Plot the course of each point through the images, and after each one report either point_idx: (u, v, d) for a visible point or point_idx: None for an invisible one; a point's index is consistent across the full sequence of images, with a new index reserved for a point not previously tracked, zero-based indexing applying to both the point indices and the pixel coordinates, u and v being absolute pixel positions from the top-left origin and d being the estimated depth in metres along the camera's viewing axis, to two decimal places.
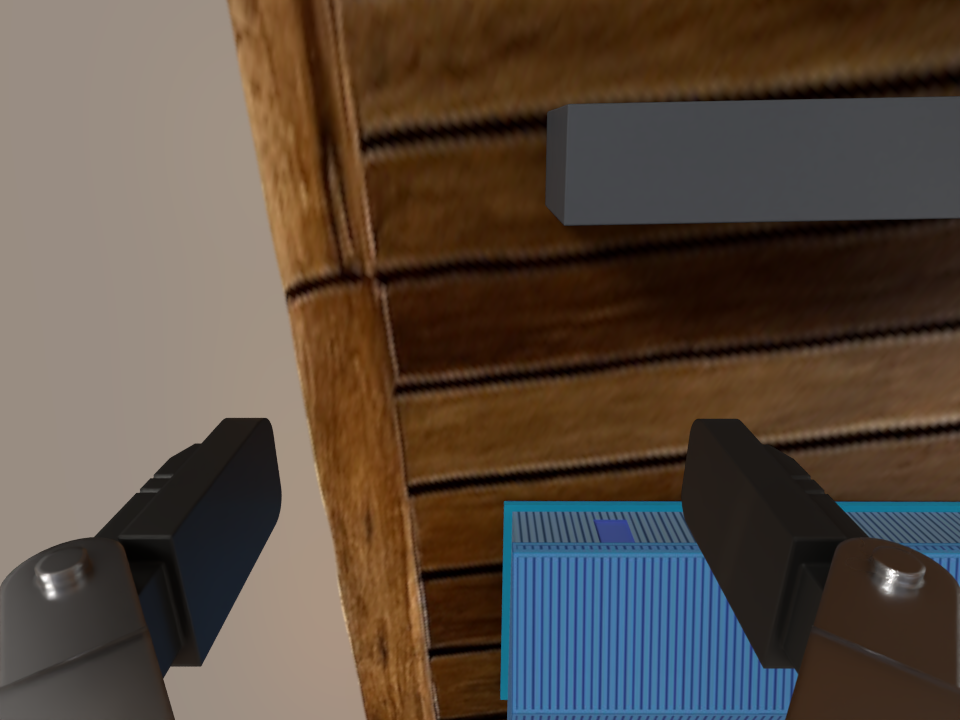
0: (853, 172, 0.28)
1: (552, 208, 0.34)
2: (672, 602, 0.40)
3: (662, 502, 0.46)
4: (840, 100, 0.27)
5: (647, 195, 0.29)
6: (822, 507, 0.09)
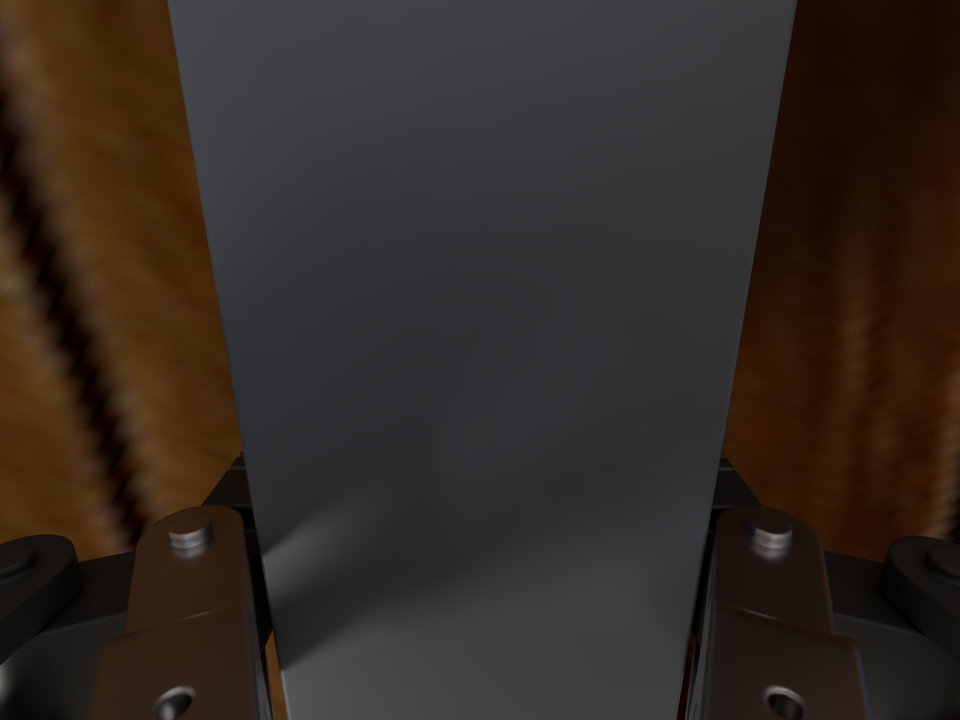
0: None
1: None
2: None
3: None
4: None
5: (593, 577, 0.07)
6: (727, 482, 0.09)
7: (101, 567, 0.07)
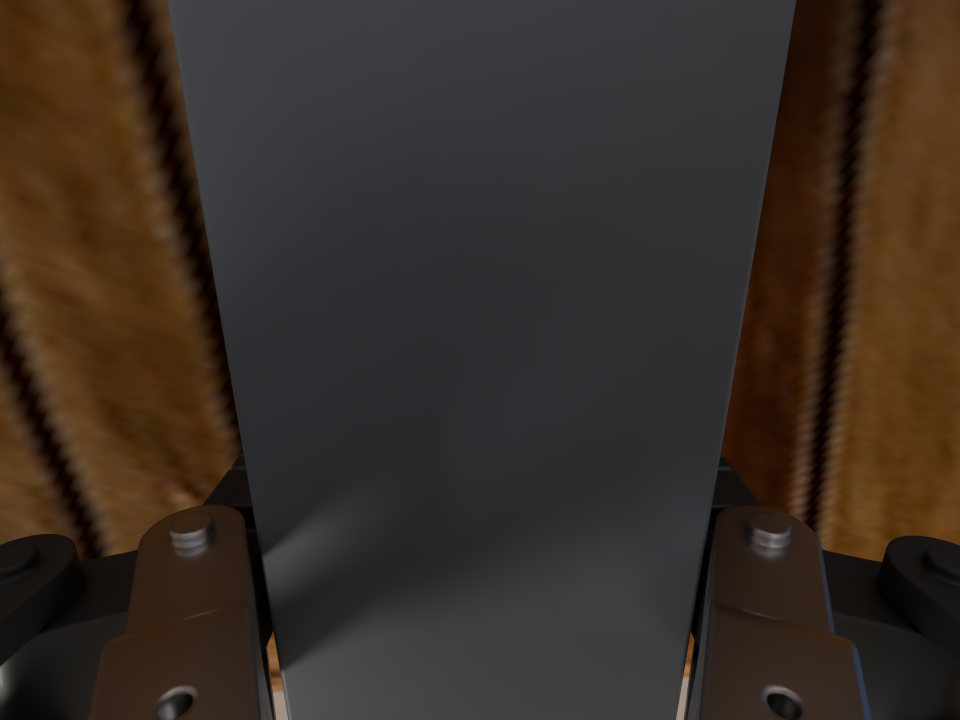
0: None
1: None
2: None
3: None
4: None
5: (593, 575, 0.07)
6: (726, 481, 0.09)
7: (104, 567, 0.07)
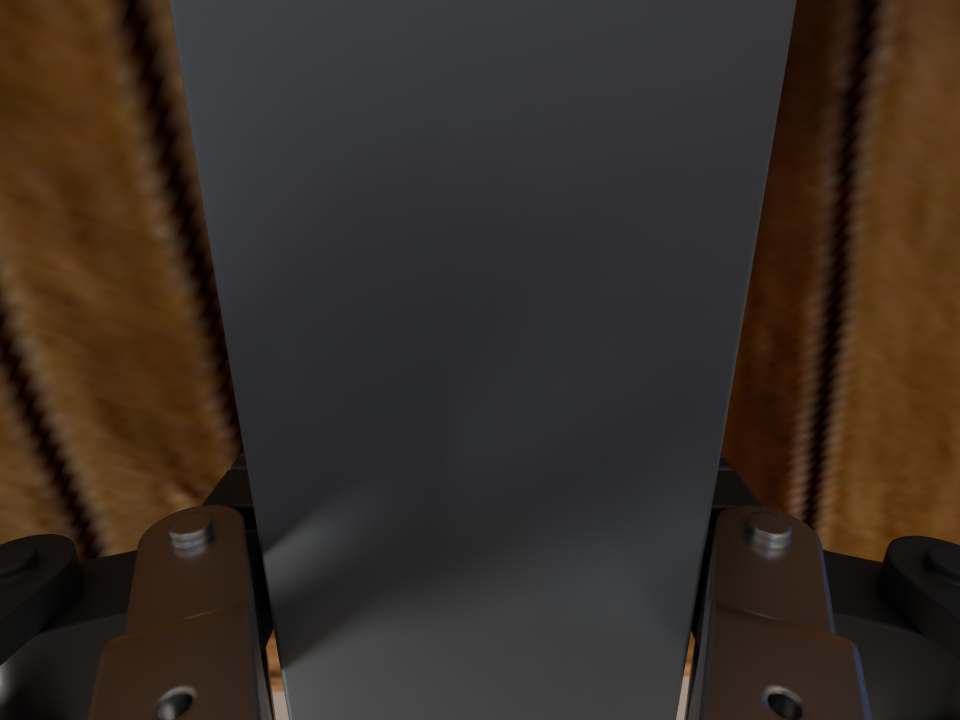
0: None
1: None
2: None
3: None
4: None
5: (594, 575, 0.07)
6: (727, 482, 0.09)
7: (102, 567, 0.07)
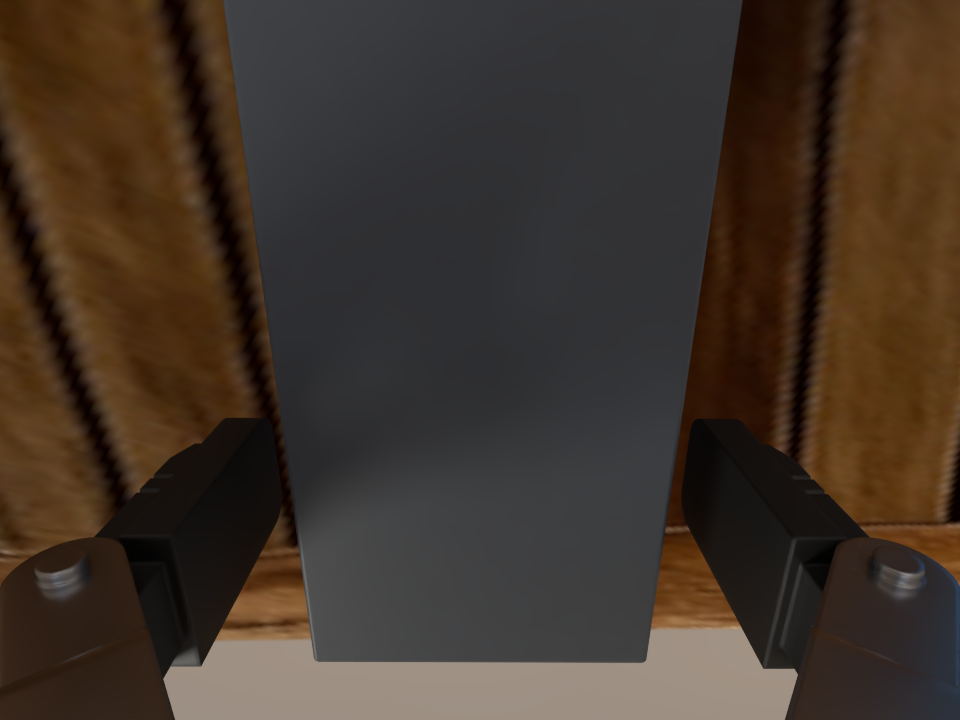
0: None
1: None
2: None
3: None
4: None
5: (580, 454, 0.08)
6: (822, 507, 0.09)
7: None
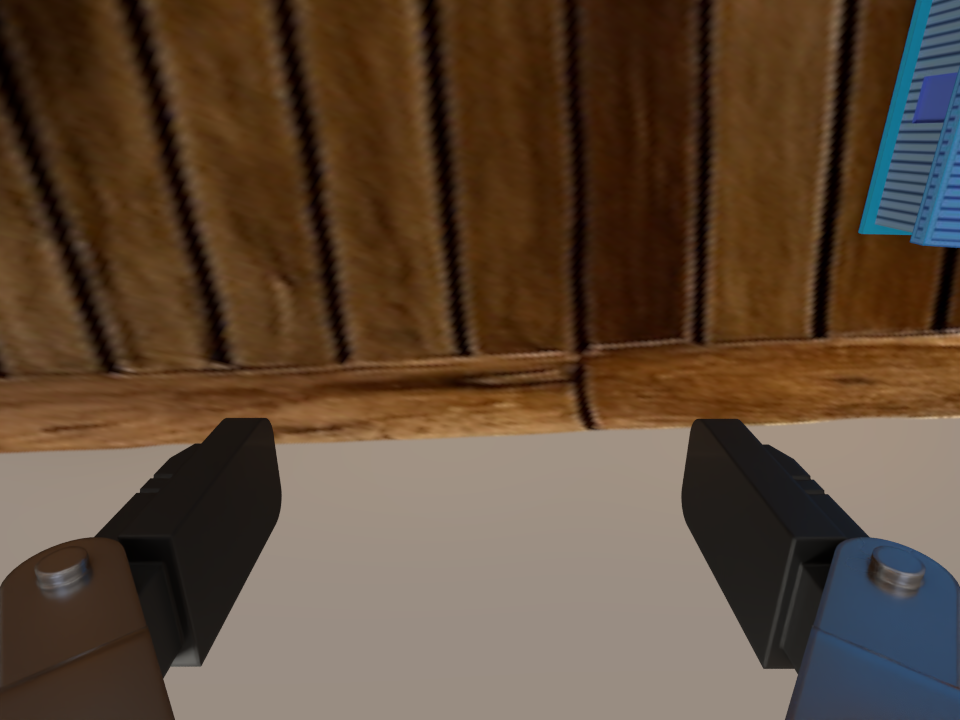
0: None
1: None
2: None
3: (912, 20, 0.34)
4: None
5: None
6: (822, 507, 0.09)
7: None
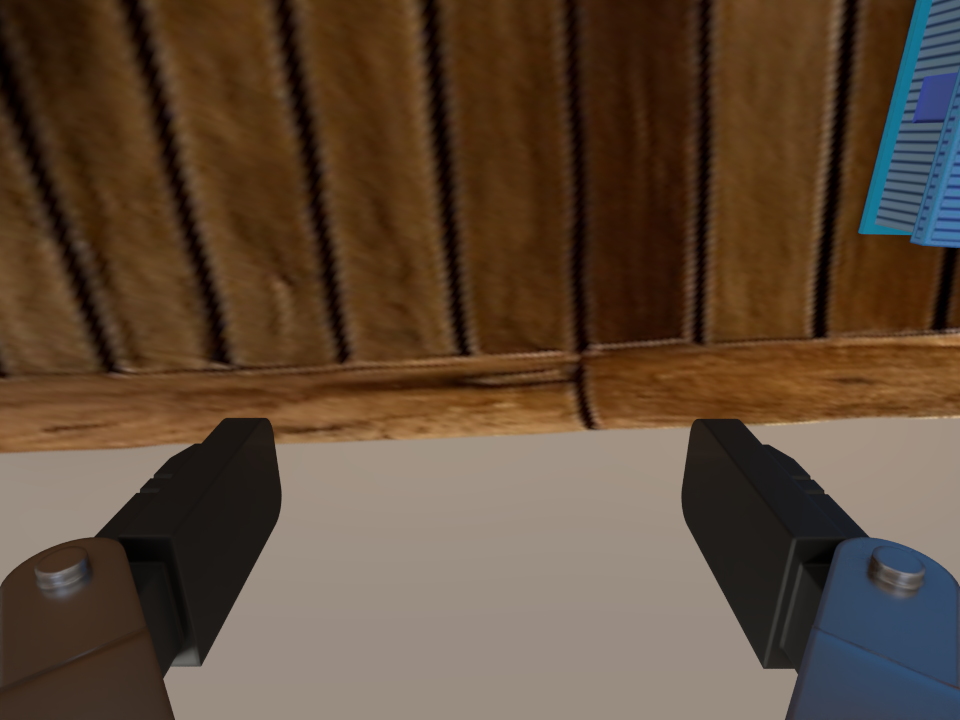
0: None
1: None
2: None
3: (912, 20, 0.34)
4: None
5: None
6: (822, 507, 0.09)
7: None
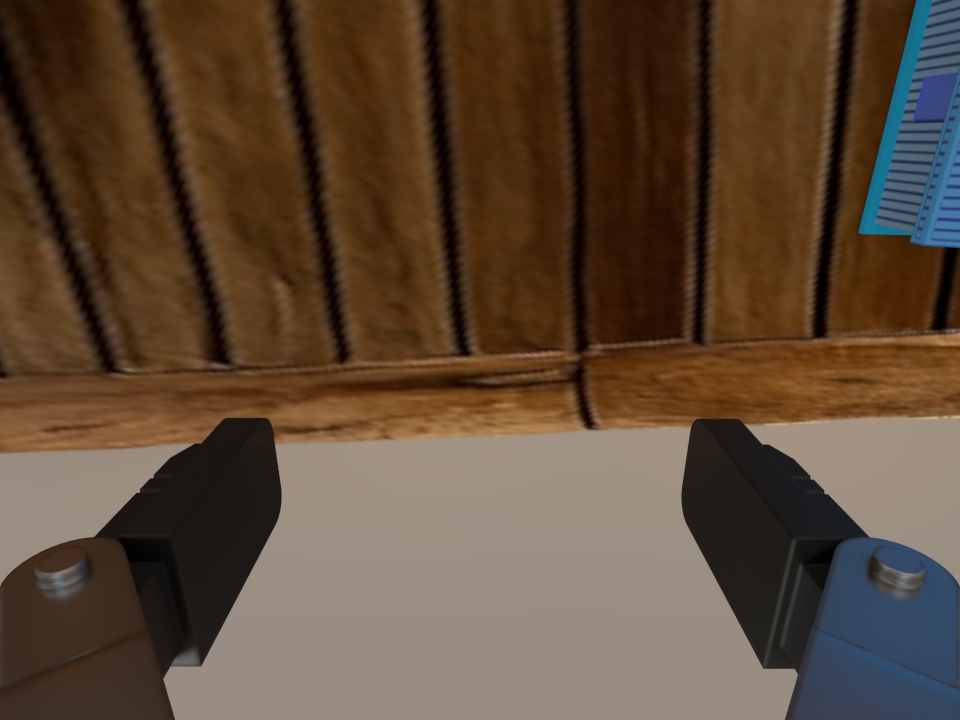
0: None
1: None
2: None
3: (912, 20, 0.34)
4: None
5: None
6: (822, 507, 0.09)
7: None
